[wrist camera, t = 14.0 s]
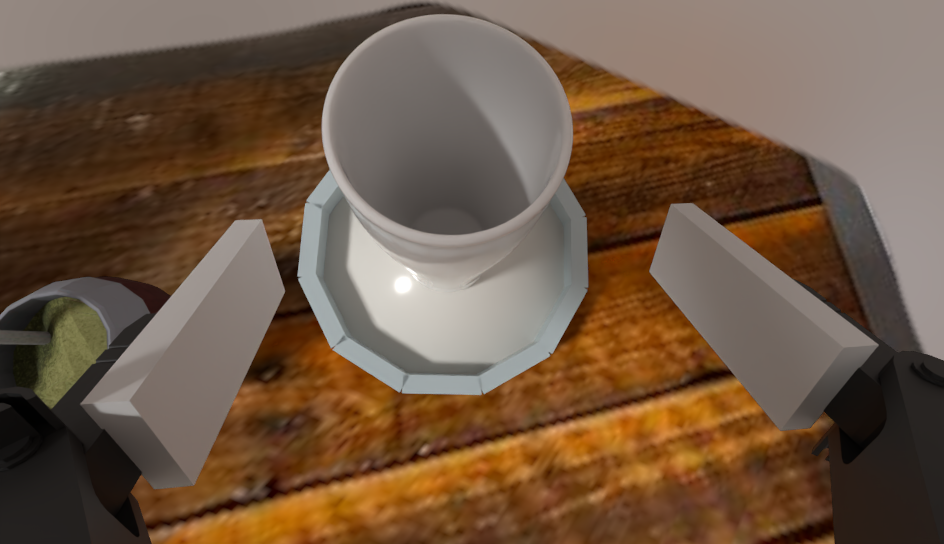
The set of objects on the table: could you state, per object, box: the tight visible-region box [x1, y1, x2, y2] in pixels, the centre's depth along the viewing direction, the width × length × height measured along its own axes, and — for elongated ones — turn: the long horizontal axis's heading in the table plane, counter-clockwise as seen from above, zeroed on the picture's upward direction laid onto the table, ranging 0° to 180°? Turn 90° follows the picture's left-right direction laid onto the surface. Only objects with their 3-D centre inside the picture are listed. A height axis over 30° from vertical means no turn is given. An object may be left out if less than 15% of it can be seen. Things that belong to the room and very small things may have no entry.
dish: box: [297, 170, 588, 395], centre depth 25 cm, size 17×17×2 cm
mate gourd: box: [0, 276, 171, 409], centre depth 16 cm, size 8×8×15 cm
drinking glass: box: [322, 14, 573, 292], centre depth 18 cm, size 7×7×15 cm
